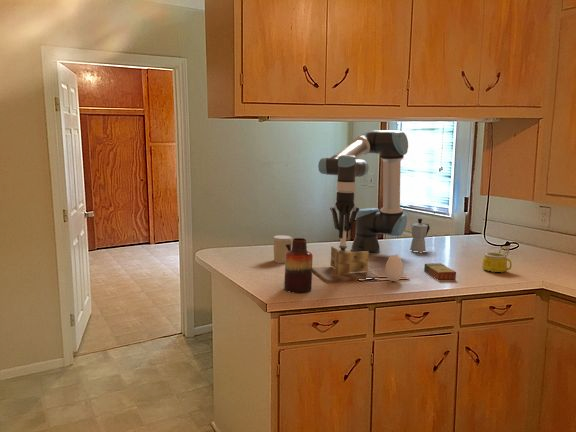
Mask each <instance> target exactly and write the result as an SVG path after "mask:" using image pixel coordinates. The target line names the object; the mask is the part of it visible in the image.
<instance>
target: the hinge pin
mask: <svg viewBox="0 0 576 432" xmlns="http://www.w3.org/2000/svg"><path fill="white" fill-rule="evenodd" d="M338 248H339V249H340V250H341V251H340V252H345V250H346V249H347V248H348V246H347V245H346V246H341V245H340V244H339V247H338Z"/></svg>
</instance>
